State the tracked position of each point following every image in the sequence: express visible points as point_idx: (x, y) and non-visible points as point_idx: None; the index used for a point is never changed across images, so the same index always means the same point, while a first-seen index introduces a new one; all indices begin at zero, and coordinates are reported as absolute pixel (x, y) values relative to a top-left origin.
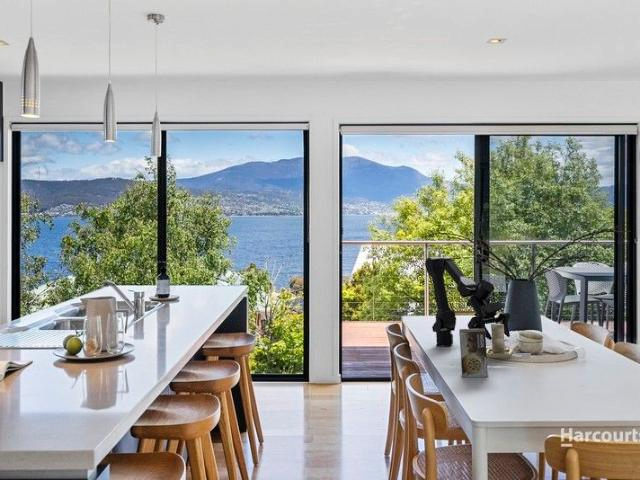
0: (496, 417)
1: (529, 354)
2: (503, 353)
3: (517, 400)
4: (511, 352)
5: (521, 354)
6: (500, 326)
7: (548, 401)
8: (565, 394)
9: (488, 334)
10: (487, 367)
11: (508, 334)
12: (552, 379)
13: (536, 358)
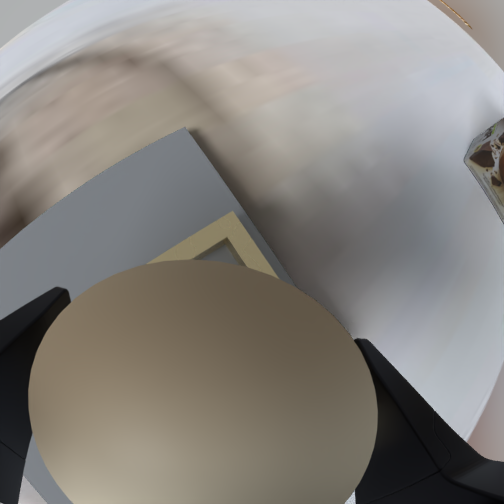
0: (498, 69)
1: (79, 194)
2: (255, 259)
3: (470, 56)
4: (170, 249)
5: (101, 231)
6: (266, 276)
7: (439, 26)
8: (404, 9)
9: (400, 375)
10: (490, 127)
11: (59, 303)
12: (363, 19)
13: (113, 143)
